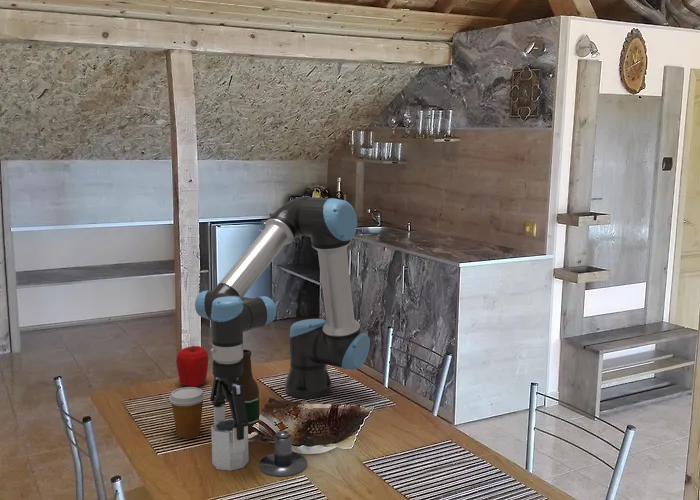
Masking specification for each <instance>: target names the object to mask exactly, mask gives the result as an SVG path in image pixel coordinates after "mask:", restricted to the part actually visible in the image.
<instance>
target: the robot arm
mask: <svg viewBox="0 0 700 500" xmlns="http://www.w3.org/2000/svg"><path fill="white" fill-rule="evenodd" d="M356 228H358V217H357V214H356V211H355V208H354V206H353V205H352V204H351V203H349V201H346V200H344V199H338V198H336V197H335V198H333V197H331V198H327V197H312V196H311V197H310V196H299V197H296V198H294V199H291V200H290V201H287V202H285V204H283V205H282V206H280V207H279V208H278V209H277V210H275V211H274V213H273V214H271V216H269V218H267V220H266V222H265V223H264V229H263V230H262V231H261V233H260V234H259V235H258V236H257V237H256V239H254V241H253V242H252V243H251V244H250V246H249V247H248V248H247V249H246V251H245V252H244V253H243V254H242V255H241V257H240V258H239V259H238V260H237V261H236V262H235V264H234V265H233V266H232V267H231V268H230V269H229V270H228V272H227V273H226V274H225V275H224V277H223V278H222V279H221V280H220V281H219V283H218V284H217V285H216V286H215V287H214V288H213V290H212V289H210V290H209V289H208V290H203V291H200V293H198V295H197V296H196V299H195V302H194V308H195V312H196V313H197V315H198V316H199V317H200V318H204V319H207V320H210V321H211V338H212V339H211V342H212V346H211V347H212V348H211V349H210V353H212V375H213V382H212V388H211V393H210V402H211V403H212V406H213V424H214V423H215V422H217V421H219V420H223V419H226V406H225V405H226V402H227V403H228V406H229V409H230V410H229V411H230V412H231V418H232V417H233V421H234V425H233V426H232V428H233V452H234V453H235V452H239V451H244V450H245V426H248V425H249V423H248V418H247V412H246V407H245V401H244V395H243V386H242V385H238V382H237V379H238V377H239V376H241V375H242V374H243V360H242V358H243V350H244V333H245V332H248V331H251V330H254V329H257V328H261V327H265V326H266V325H268V324H271V323H272V322H273V321H274V320H275V318H276V316H277V307H276V304H275V302H274V301H273V300H272V299H271V298H270V297H269V296H265V295H262V296H255V297H248V296H246V294H247V293H248V292H249V290H250V289H251V287H253V286H254V284H255V283H256V282H257V280H258V279H259V278H260V276H261V275H263V273H264V272H265V270H266V269H267V268H268V267H269V266H270V265H271V263H272V262H273V260H274V259H275V258H276V257H277V256H278V254H279V253H280V252H281V251H282V250H283V248H284V247H285V245H289V244H292V242H293V241H294V240H295V239H296V238H298V237H303V236H304V237H310V242H311V247H312V248H313V249H314V250H316V251H317V255H318V264H319V272H320V280H321V288H322V297H323V302H324V303H323V304H324V311H325V319H323V318H310V319H309V318H308V319H303V320H299V321H296V322H293V324H291V325H290V329H289V330H290V331H289V355H290V356H289V361H290V362H289V364H290V366H289V370H288V373H287V377H286V380H285V384H284V386H285V387H284V391H285V393H286V394H287V395H289V396H290V397H293V398H299V399H317V398H323V397H324V396H327V395H329V394H330V393H331V392H332V390H333V389H332V385H333V384H332V380H331V377H330V375H329V371H328V368H327V366H332V367H336V368H341V369H342V370H350V371H351V370H352V371H355V370H358V369H359V368H361V367H362V366H363V365H364V363H365V362H366V359H367V357H368V355H369V351H370V346H371V340H370V337H369V335H368V334H366V333H365V332H362V330H361V324H360V321H358V320H357V319H355V313H354V303H353V294H352V285H351V277H350V276H351V275H350V267H349V266H350V265H349V259H348V250H347V249H348V247H349V245H350V244H351V242H352V238H353V237H354V236H355V235H356V232H357V229H356ZM353 239H354V238H353Z"/></svg>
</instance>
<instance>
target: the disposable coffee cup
mask: <svg viewBox="0 0 700 500" xmlns="http://www.w3.org/2000/svg"><path fill="white" fill-rule="evenodd" d="M205 395H206V394H204V390H203V389H201V388H199V387H187V386H184V387H180V388H176V389H175V390H173V391H171V393H170V396H169V399H168V400H169V402H170V404H171V409H172V414H173V420H174V425H175V431H176V437H178V438H180V439H191V438H195V437H198V436H199V435H200V434H201V426H202V425H201V424H202V416H203V415H202V414H203V406H204V405H203V404H204V399H205Z"/></svg>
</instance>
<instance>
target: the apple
mask: <svg viewBox="0 0 700 500" xmlns="http://www.w3.org/2000/svg"><path fill="white" fill-rule="evenodd" d="M175 361H176V367H177V373H178V379H179V383H181V384H182V385H184V387H195V388H199V387H201V386H202V385H203V384H204V383H205V382H206V380H207V375H208V368H209V353H208V351H207V350H206V349H205V348H204V347H203V346H199V345H191V346H187V347H184V348H181V349H180V350H179V351H178V353H177V354H176V360H175Z"/></svg>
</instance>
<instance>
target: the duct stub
mask: <svg viewBox="0 0 700 500" xmlns="http://www.w3.org/2000/svg"><path fill="white" fill-rule="evenodd" d="M292 438H293V437H292V435H291V434H290V431H288V430H278V431H277V432H276V434H275V435H274V436H273V448H274V449H273V451H274V452H273V453H271V454H268V455H266V456H264V457H263V458H261V459H260V461H259V464H258V466H259V470H260V471H261V472H262V473H264V474H265V475H268V476H271V477H277V478H278V477H280V478H282V477H284V478H285V477H291V476H292V477H293V476H295V475H298V474H301V473H302V472H303V471H305V470H306V469H307V466H308V461H307V459H306V457H305V456H303V455H301V454H298V453H297V452H296V453H295V452H293V450H292V449H293V443H292V442H293V440H292Z"/></svg>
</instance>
